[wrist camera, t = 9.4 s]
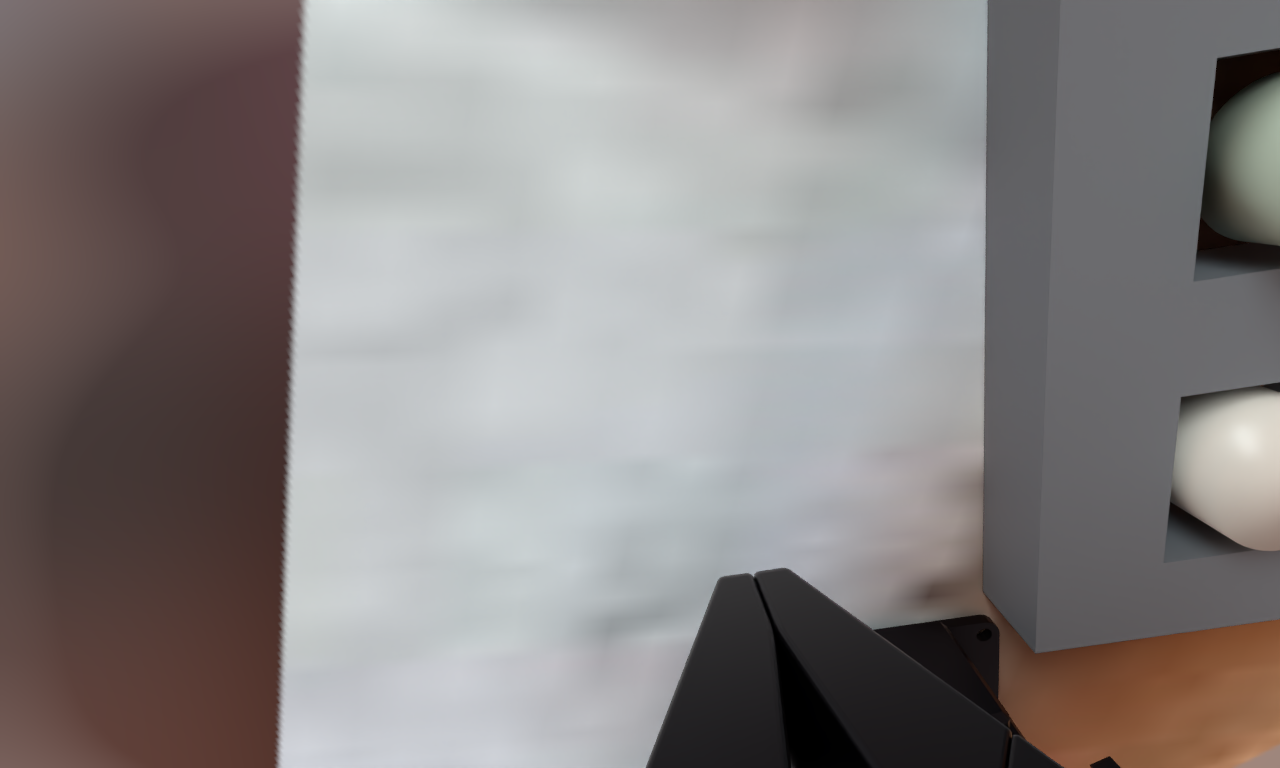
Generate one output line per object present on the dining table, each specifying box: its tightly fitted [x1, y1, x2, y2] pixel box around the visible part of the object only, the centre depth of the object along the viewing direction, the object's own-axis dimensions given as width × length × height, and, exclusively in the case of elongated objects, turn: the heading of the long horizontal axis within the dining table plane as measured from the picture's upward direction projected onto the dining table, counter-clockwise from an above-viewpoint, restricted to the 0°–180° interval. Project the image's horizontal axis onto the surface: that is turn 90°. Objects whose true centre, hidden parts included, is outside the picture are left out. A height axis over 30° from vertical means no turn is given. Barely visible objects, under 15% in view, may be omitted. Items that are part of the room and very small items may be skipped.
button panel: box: [983, 0, 1280, 653], centre depth 17 cm, size 26×12×3 cm, turn 9°
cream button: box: [1170, 385, 1280, 551], centre depth 19 cm, size 4×4×3 cm
